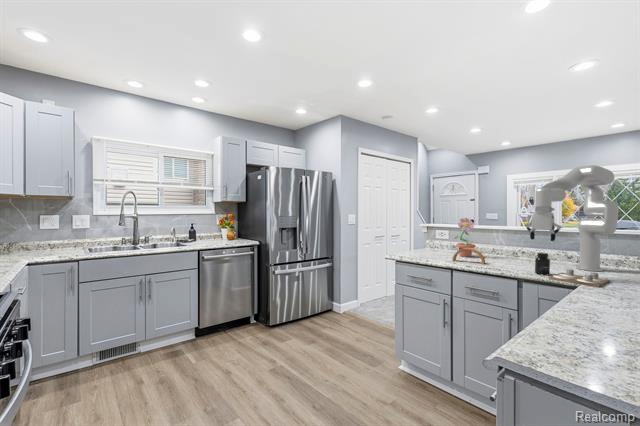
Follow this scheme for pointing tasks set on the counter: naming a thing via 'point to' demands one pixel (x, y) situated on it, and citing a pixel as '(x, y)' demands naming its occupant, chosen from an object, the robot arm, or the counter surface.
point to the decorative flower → (465, 225)
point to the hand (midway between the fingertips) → (542, 240)
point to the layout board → (580, 278)
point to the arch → (471, 250)
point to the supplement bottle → (542, 264)
